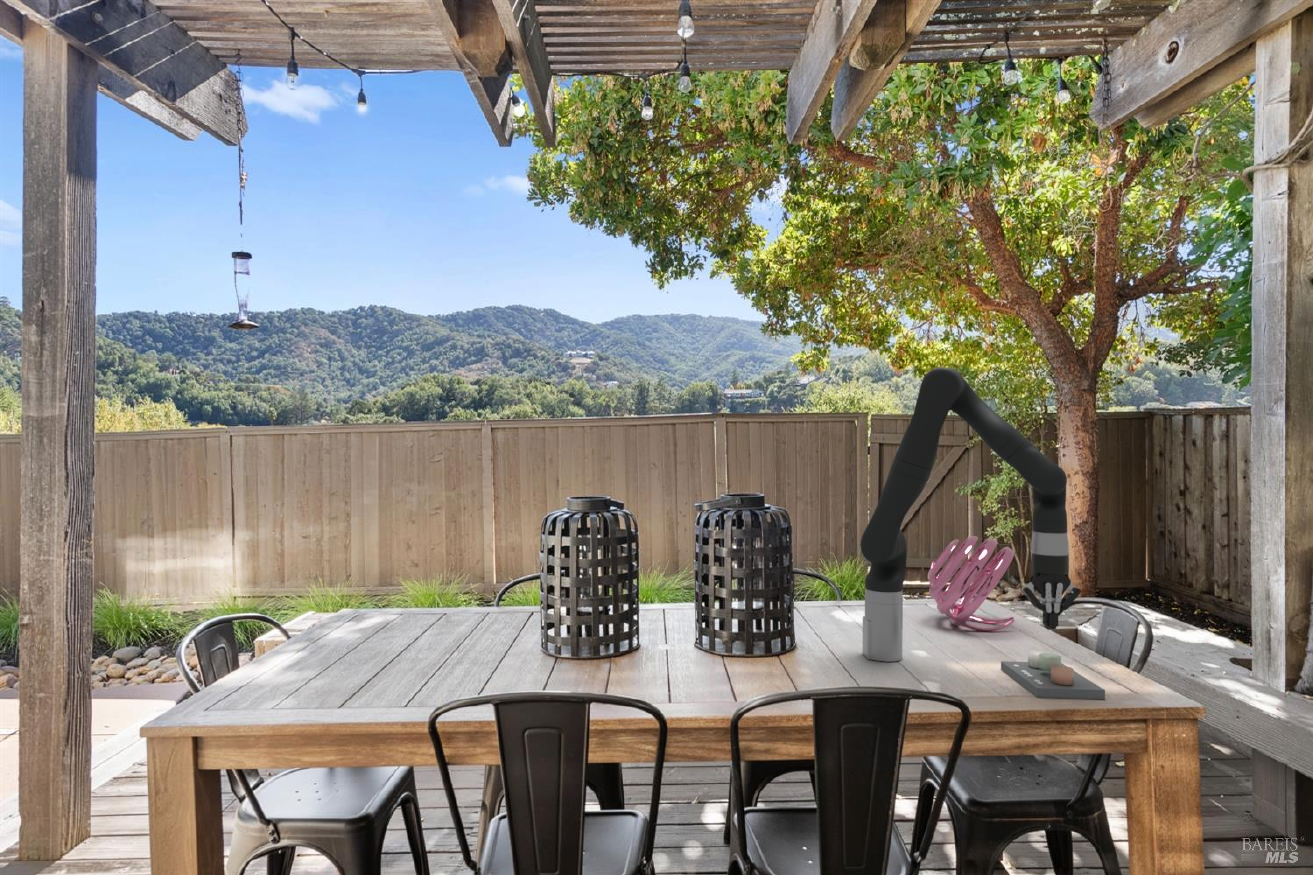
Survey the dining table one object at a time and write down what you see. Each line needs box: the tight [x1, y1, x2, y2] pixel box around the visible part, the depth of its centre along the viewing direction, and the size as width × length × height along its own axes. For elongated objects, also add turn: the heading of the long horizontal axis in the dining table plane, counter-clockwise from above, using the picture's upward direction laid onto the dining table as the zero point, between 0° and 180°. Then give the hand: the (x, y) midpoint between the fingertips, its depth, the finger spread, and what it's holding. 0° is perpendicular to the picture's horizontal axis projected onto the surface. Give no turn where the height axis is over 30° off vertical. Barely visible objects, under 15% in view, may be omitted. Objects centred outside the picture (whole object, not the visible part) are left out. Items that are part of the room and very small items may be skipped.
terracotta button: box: [1051, 665, 1075, 685], centre depth 165 cm, size 4×4×3 cm
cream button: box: [1027, 649, 1047, 668], centre depth 177 cm, size 4×4×3 cm
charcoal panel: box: [1000, 660, 1106, 701], centre depth 171 cm, size 14×20×2 cm
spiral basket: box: [927, 535, 1016, 632], centre depth 225 cm, size 28×28×27 cm
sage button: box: [1039, 652, 1062, 672], centre depth 171 cm, size 4×4×3 cm
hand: (1050, 628), depth 171 cm, fingers closed
